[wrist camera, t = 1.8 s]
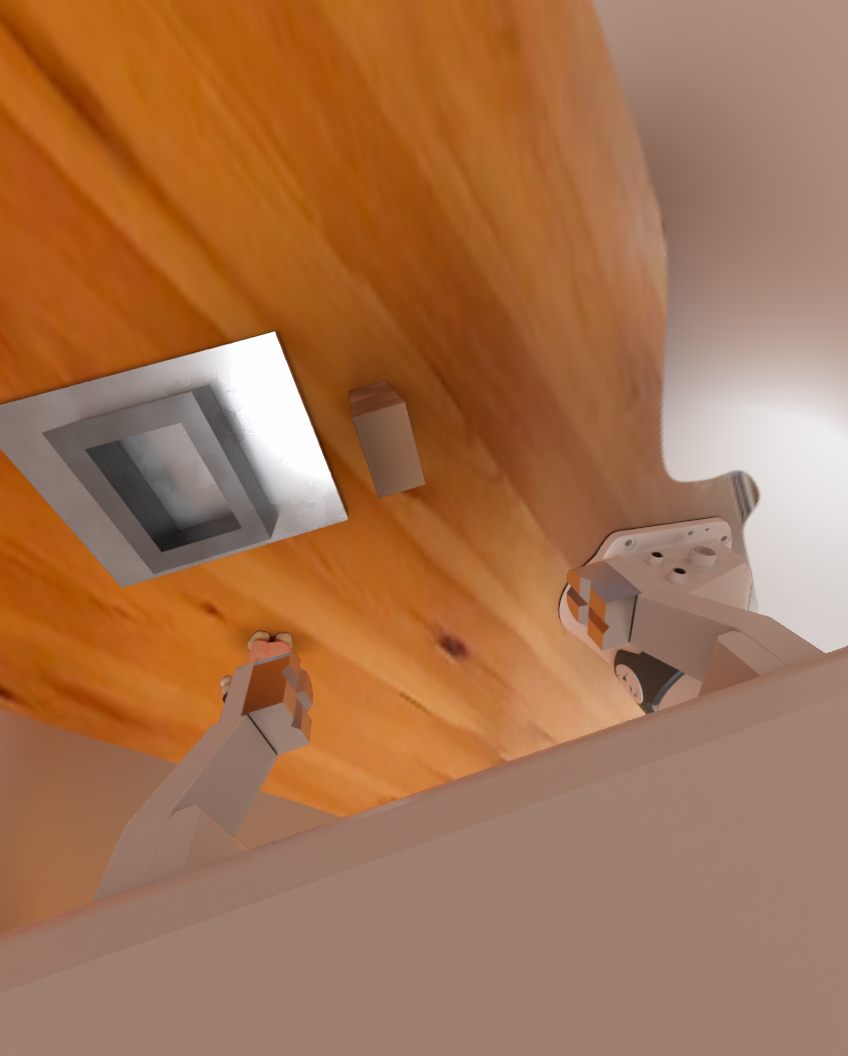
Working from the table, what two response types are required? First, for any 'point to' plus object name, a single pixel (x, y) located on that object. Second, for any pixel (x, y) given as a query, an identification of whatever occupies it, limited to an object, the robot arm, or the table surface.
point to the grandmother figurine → (262, 652)
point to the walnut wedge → (386, 438)
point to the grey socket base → (178, 459)
